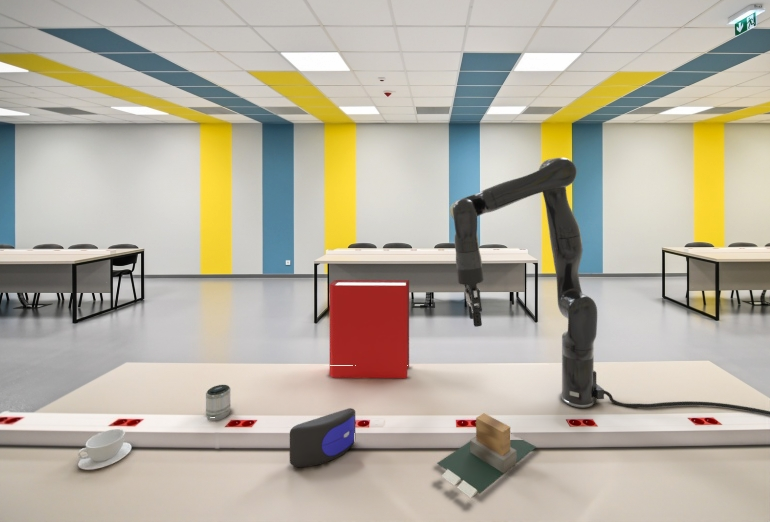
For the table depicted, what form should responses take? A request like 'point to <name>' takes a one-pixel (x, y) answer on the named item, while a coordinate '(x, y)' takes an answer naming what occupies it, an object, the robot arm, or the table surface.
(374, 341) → the book
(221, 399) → the camera lens
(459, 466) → the slate board
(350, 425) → the computer mouse
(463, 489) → the smudge
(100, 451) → the teacup
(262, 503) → the table surface
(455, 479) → the white square tile
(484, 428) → the eraser
